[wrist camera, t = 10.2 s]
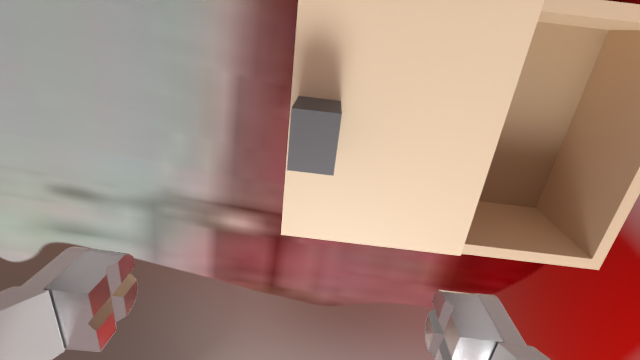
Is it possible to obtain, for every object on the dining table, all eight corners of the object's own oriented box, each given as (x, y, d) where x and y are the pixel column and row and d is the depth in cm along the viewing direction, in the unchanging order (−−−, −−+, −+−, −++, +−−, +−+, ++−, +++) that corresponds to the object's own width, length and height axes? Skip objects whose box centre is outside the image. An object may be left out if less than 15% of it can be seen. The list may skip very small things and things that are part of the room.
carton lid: (301, -27, 22) (292, -41, 18) (537, 0, 22) (587, -6, 18) (282, 229, 30) (272, 264, 25) (457, 250, 30) (478, 288, 25)
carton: (440, -2, 31) (483, -14, 22) (618, 19, 31) (734, 15, 22) (396, 196, 39) (415, 248, 30) (537, 213, 39) (598, 269, 30)
